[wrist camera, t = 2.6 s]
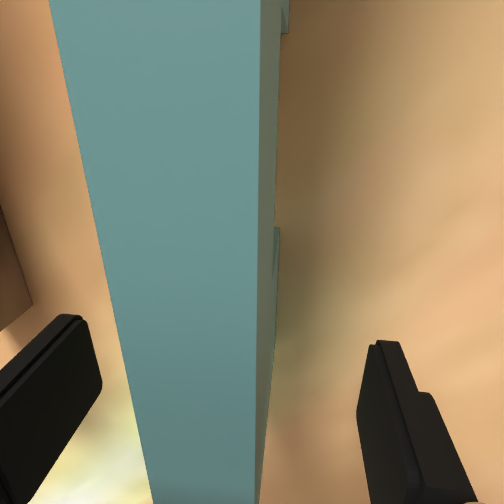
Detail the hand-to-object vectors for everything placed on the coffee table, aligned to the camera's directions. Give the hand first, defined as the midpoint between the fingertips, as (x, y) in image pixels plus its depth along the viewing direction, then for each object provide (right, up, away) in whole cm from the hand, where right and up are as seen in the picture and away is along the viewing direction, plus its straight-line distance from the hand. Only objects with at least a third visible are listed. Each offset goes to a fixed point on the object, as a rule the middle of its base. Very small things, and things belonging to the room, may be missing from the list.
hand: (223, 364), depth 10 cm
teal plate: (+1, +7, +2) cm, 8 cm away
